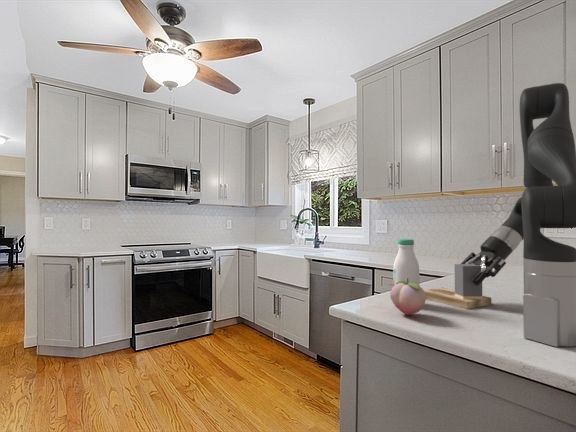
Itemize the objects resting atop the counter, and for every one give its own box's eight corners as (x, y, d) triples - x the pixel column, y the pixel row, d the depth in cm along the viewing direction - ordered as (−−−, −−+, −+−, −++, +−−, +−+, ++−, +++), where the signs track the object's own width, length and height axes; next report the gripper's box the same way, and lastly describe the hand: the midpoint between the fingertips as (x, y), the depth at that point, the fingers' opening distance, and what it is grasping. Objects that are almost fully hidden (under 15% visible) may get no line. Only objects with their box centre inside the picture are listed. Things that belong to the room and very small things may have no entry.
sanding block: (473, 295, 102) (472, 264, 103) (482, 299, 98) (482, 265, 98) (454, 295, 102) (454, 264, 102) (463, 299, 98) (462, 266, 98)
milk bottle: (424, 304, 99) (424, 239, 99) (409, 308, 95) (409, 240, 95) (403, 299, 105) (403, 238, 106) (387, 302, 101) (387, 239, 101)
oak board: (467, 309, 94) (467, 301, 94) (418, 296, 109) (418, 290, 109) (491, 304, 100) (491, 297, 100) (442, 293, 115) (442, 287, 115)
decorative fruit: (433, 317, 86) (433, 279, 86) (412, 322, 82) (411, 282, 82) (405, 309, 94) (405, 274, 94) (384, 312, 90) (384, 276, 90)
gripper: (478, 234, 108) (444, 269, 107) (509, 236, 94) (471, 276, 93) (493, 250, 108) (460, 284, 107) (527, 254, 94) (489, 294, 93)
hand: (465, 280), depth 100 cm, fingers open, 8 cm apart
